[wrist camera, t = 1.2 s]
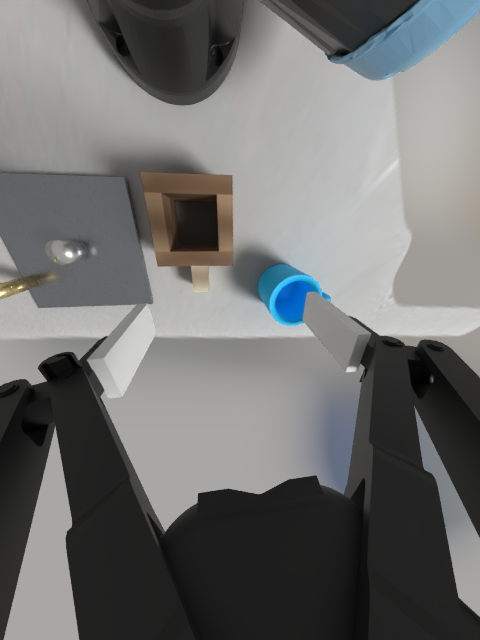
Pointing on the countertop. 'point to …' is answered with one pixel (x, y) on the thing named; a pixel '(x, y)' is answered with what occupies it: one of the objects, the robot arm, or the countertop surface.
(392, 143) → the countertop surface
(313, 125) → the countertop surface
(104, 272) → the flange base
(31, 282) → the dowel pin
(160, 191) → the wooden square tube
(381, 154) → the countertop surface
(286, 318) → the mug
